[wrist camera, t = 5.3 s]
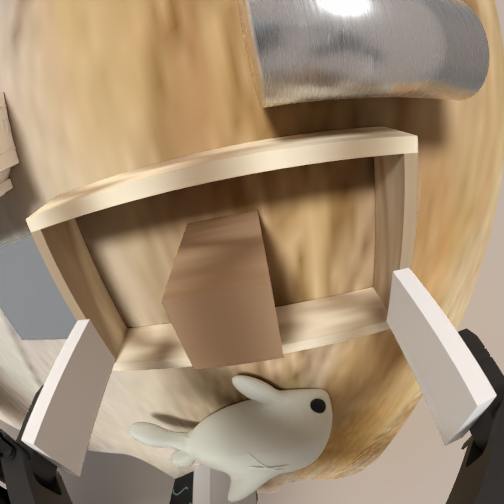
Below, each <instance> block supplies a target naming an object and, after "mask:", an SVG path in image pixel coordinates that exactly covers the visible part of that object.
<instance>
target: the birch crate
mask: <svg viewBox="0 0 504 504" xmlns="http://www.w3.org/2000/svg"><path fill="white" fill-rule="evenodd" d="M372 156H374V170H375V209H376V220H375V259H374V278H373V287H371V288H367V289H362V290H358V291H353V292H349V293H344V294H340V295H335V296H330V297H326V298H321V299H316V300H311V301H306V302H301V303H296V304H290V305H285V306H280V307H275V310H276V315H277V321H278V327H279V333H280V338H281V344H282V350H283V354H284V353H290V352H295V351H300V350H305V349H310V348H315V347H320V346H324V345H329V344H333V343H338V342H342V341H346V340H350V339H354V338H358V337H362V336H366V335H370V334H374V333H378V332H381V331H385V330H388V329H390V327H389V325H388V323H387V315H388V308H389V300H390V292H391V284H392V274H393V271H396V270H401V269H405V268H409V269H410V270H411V269H412V261H413V253H414V244H415V233H416V220H417V203H418V136H416V135H413V134H410V133H406V132H403V131H399V130H396V129H392V128H388V127H384V126H382V127H366V128H353V129H342V130H332V131H323V132H314V133H306V134H299V135H292V136H285V137H278V138H272V139H266V140H260V141H254V142H249V143H243V144H238V145H233V146H228V147H223V148H218V149H214V150H209V151H205V152H200V153H196V154H192V155H188V156H183V157H179V158H175V159H172V160H168V161H164V162H160V163H157V164H153V165H149V166H146V167H142V168H139V169H135V170H132V171H129V172H125V173H122V174H119V175H116V176H113V177H110V178H107V179H104V180H101V181H98V182H95V183H92V184H89V185H86V186H83V187H80V188H78V189H75V190H72V191H70V192H67V193H64V194H62V195H59V196H56V197H55V198H54V199H52V200H51V201H49V202H48V203H47V204H45V205H44V206H42V207H41V208H40V209H38V210H37V211H36V212H34V213H33V214H32V215H30V216H29V217H28V218H27V219H26V222H27V224H28V227H29V229H30V232H31V234H32V236H33V238H34V241H35V243H36V245H37V247H38V250H39V252H40V254H41V256H42V258H43V260H44V262H45V264H46V266H47V268H48V270H49V272H50V274H51V276H52V278H53V280H54V282H55V284H56V286H57V287H58V289H59V291H60V293H61V295H62V296H63V298H64V300H65V302H66V303H67V305H68V307H69V309H70V310H71V312H72V314H73V315H74V317H75V319H76V320H77V321H78V320H87V319H90V320H91V322H92V324H93V325H94V327H95V329H96V330H97V332H98V334H99V335H100V337H101V338H102V340H103V341H104V343H105V344H106V346H107V348H108V349H109V351H110V352H111V353H112V355H113V356H114V358H115V359H116V361H115V363H114V366H113V369H112V371H126V370H149V369H165V368H178V367H189V366H192V364H191V362H190V360H189V358H188V356H187V354H186V352H185V350H184V348H183V346H182V344H181V342H180V340H179V338H178V336H177V334H176V332H175V330H174V328H173V326H172V324H171V323H170V324H162V325H153V326H145V327H136V328H127V326H126V325H125V323H124V321H123V319H122V317H121V316H120V314H119V312H118V310H117V308H116V306H115V305H114V303H113V301H112V299H111V297H110V295H109V293H108V291H107V289H106V287H105V285H104V283H103V281H102V279H101V277H100V275H99V273H98V271H97V268H96V266H95V264H94V262H93V260H92V258H91V255H90V253H89V251H88V248H87V246H86V244H85V242H84V239H83V237H82V234H81V232H80V229H79V227H78V224H77V222H76V219H75V218H76V217H79V216H82V215H85V214H89V213H92V212H95V211H99V210H102V209H105V208H109V207H112V206H116V205H119V204H123V203H127V202H130V201H134V200H138V199H142V198H145V197H149V196H153V195H157V194H161V193H165V192H169V191H173V190H178V189H182V188H186V187H190V186H195V185H199V184H204V183H209V182H213V181H218V180H223V179H228V178H233V177H238V176H243V175H248V174H254V173H259V172H265V171H270V170H276V169H282V168H288V167H295V166H301V165H308V164H315V163H322V162H329V161H337V160H345V159H354V158H363V157H372Z"/></svg>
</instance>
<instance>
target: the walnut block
mask: <svg viewBox="0 0 504 504" xmlns="http://www.w3.org/2000/svg"><path fill="white" fill-rule="evenodd" d="M162 304H163V306H164V308H165V310H166V313H167V315H168V317H169V319H170V321H171V324H172V326H173V328H174V330H175V332H176V334H177V336H178V338H179V340H180V342H181V344H182V346H183V348H184V350H185V352H186V354H187V356H188V358H189V360H190V362H191V364H192V366H193V368H194V370H195V369H205V368H214V367H223V366H231V365H238V364H246V363H252V362H259V361H265V360H271V359H277V358H283V357H284V356H283V350H282V344H281V338H280V333H279V327H278V321H277V315H276V310H275V304H274V298H273V293H272V287H271V281H270V276H269V270H268V265H267V259H266V254H265V248H264V243H263V238H262V232H261V227H260V221H259V216H258V211H257V210H255V211H250V212H245V213H239V214H234V215H229V216H224V217H219V218H214V219H209V220H204V221H199V222H194V223H189V224H187V227H186V230H185V232H184V235H183V238H182V241H181V244H180V247H179V250H178V253H177V256H176V259H175V262H174V265H173V268H172V271H171V274H170V277H169V280H168V283H167V286H166V290H165V293H164V296H163V299H162Z"/></svg>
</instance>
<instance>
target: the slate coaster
mask: <svg viewBox="0 0 504 504" xmlns="http://www.w3.org/2000/svg"><path fill="white" fill-rule="evenodd" d="M0 307H1V309H2V311H3V312H4V314H5V315H6V317H7V318H8V320H9V321H10V323H11V324H12V326H13V327H14V329H15V330H16V332H17V333H18V335H19V336H20V337H21V339H22V340H37V339H61V338H68V337H69V335H70V333H71V331H72V330H73V328H74V326H75V324H76V322H77V320H76V319H75V317H74V315H73V314H72V312H71V310H70V309H69V307H68V305H67V303H66V302H65V300H64V298H63V296H62V295H61V293H60V291H59V289H58V287H57V286H56V284H55V282H54V280H53V278H52V276H51V274H50V272H49V270H48V268H47V266H46V264H45V262H44V260H43V258H42V256H41V254H40V252H39V250H38V247H37V245H36V243H35V241H34V238H33V236H32V234H30V235H28V236H25V237H22V238H19V239H17V240H14V241H11V242H9V243H6V244H3V245H1V246H0Z"/></svg>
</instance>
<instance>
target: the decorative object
mask: <svg viewBox="0 0 504 504" xmlns="http://www.w3.org/2000/svg"><path fill="white" fill-rule="evenodd" d="M230 484H231V479H230V476H229V475H228V474H227V473H225V472H221V471H218V470H215V469H212V468H210V467H208V466H205V465H203V464H200V465H198V466H196V467H194V471H193V472H191V473H189V474H186V475H184V476H182V477H180V478H177V479H175V482H174V487H173V492H172V495H171V500H170V504H257V492H256V490H255V491H254V492H253V493H251V494H250V495H249V496H247V497H245V498H244V499H242V500H239V501H236V502H230V501H229V500H228V492H229V489H230Z"/></svg>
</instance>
